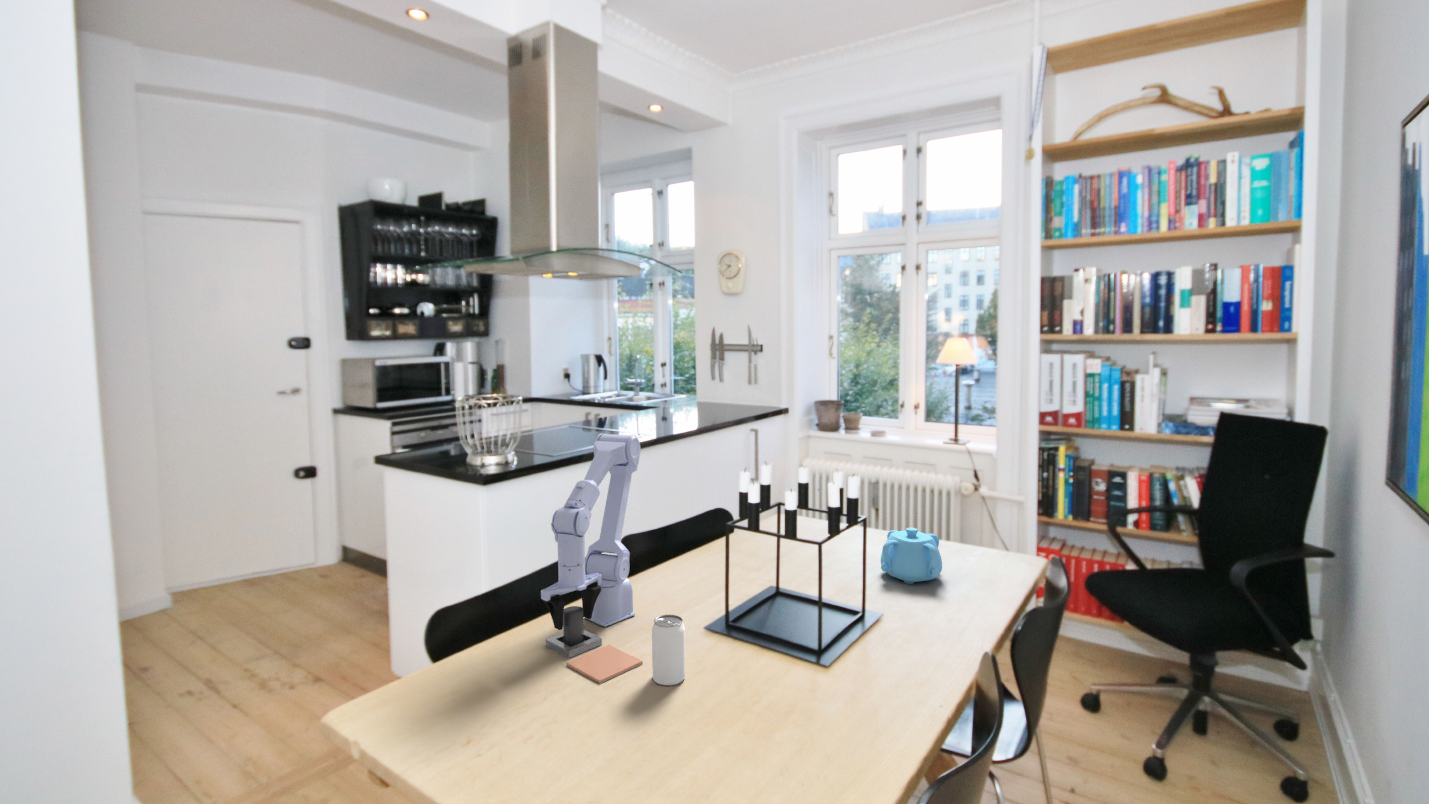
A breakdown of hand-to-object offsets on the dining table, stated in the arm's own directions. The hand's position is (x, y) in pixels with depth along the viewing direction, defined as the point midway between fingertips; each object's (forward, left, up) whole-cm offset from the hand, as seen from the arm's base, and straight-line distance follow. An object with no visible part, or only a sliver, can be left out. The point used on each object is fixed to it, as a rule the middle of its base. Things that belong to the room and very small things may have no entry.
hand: (573, 622), depth 155 cm
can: (-4, +26, -5) cm, 27 cm away
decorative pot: (-88, +34, -5) cm, 95 cm away
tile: (+1, +12, -5) cm, 13 cm away
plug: (0, 0, -5) cm, 5 cm away
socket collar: (0, 0, -5) cm, 5 cm away
